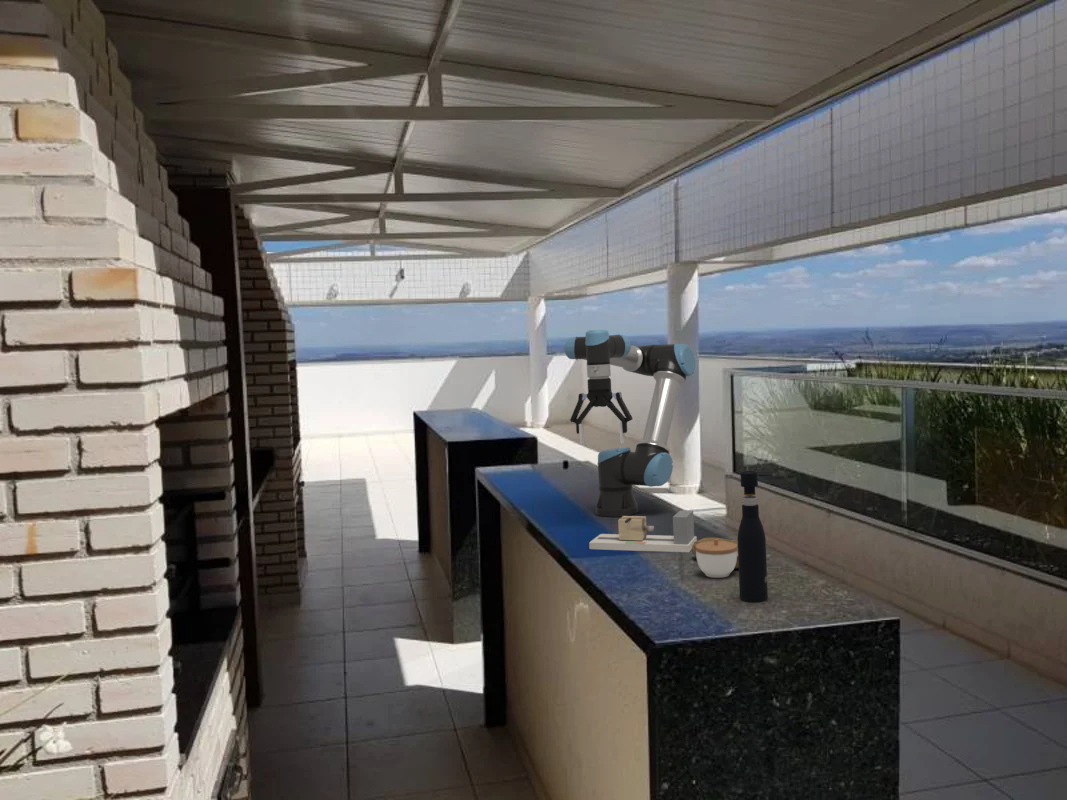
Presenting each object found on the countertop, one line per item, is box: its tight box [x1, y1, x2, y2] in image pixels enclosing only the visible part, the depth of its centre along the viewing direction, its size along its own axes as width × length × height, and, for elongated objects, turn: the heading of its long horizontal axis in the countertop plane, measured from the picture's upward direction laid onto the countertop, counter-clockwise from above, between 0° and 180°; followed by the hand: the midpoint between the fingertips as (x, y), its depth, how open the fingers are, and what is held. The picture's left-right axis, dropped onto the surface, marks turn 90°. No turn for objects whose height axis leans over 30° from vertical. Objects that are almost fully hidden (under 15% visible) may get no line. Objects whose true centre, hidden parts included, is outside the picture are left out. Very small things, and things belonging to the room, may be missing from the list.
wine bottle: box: [736, 470, 769, 603], centre depth 218 cm, size 6×6×30 cm
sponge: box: [691, 537, 739, 569], centre depth 253 cm, size 13×8×20 cm
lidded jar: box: [695, 539, 737, 579], centre depth 241 cm, size 11×11×9 cm
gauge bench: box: [588, 510, 698, 553], centre depth 278 cm, size 12×30×10 cm, turn 69°
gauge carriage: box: [617, 515, 655, 540], centre depth 277 cm, size 10×10×7 cm
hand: (602, 443), depth 300 cm, fingers open, 13 cm apart
